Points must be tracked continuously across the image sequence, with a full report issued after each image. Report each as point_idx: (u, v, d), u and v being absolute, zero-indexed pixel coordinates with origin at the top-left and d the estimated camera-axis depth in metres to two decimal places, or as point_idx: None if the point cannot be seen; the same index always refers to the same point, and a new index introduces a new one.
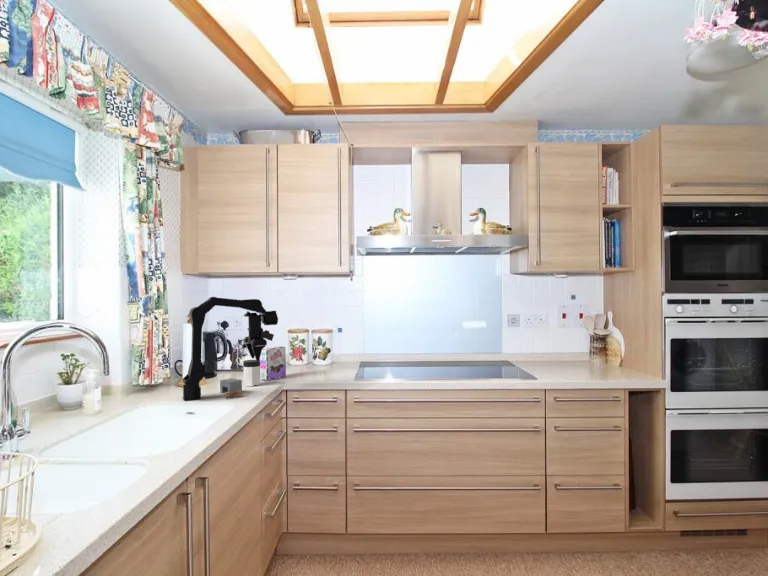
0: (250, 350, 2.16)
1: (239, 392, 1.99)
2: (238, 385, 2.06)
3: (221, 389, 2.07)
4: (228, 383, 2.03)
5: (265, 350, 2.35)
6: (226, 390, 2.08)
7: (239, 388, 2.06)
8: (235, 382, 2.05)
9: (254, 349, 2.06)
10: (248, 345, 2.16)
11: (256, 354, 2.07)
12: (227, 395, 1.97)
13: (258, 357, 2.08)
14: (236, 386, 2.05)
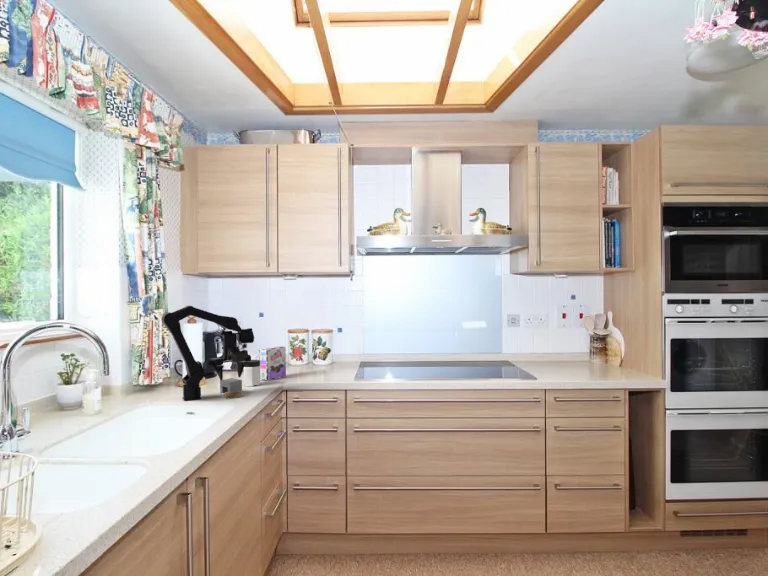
0: (238, 369, 2.12)
1: (239, 392, 1.99)
2: (238, 385, 2.06)
3: (221, 389, 2.07)
4: (228, 383, 2.03)
5: (265, 350, 2.35)
6: (226, 390, 2.08)
7: (239, 388, 2.06)
8: (235, 382, 2.05)
9: (215, 368, 2.04)
10: (237, 363, 2.13)
11: (218, 373, 2.04)
12: (227, 395, 1.97)
13: (220, 377, 2.03)
14: (236, 386, 2.05)
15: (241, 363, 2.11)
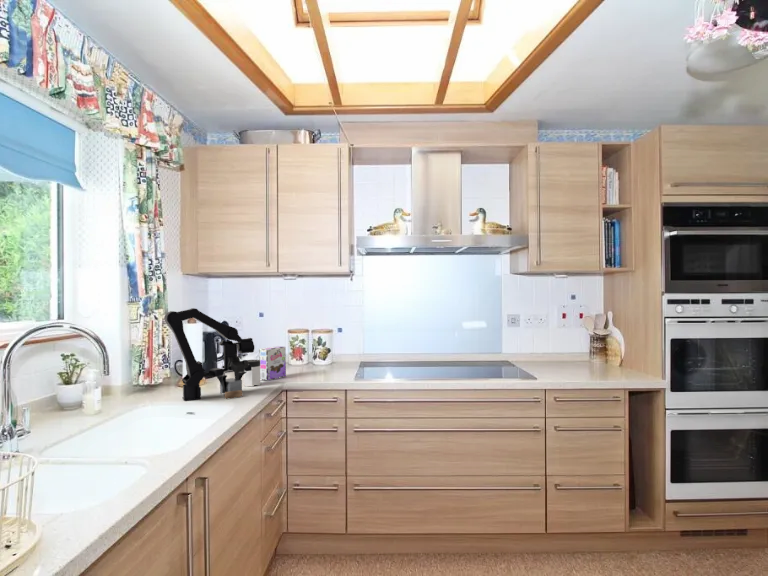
0: None
1: (239, 392, 1.99)
2: (238, 385, 2.06)
3: (221, 389, 2.07)
4: (228, 383, 2.03)
5: (265, 350, 2.35)
6: (226, 390, 2.08)
7: (239, 388, 2.06)
8: (235, 382, 2.05)
9: (218, 378, 2.05)
10: (235, 373, 2.11)
11: (221, 383, 2.05)
12: (227, 395, 1.97)
13: (223, 387, 2.04)
14: (236, 386, 2.05)
15: (239, 373, 2.10)
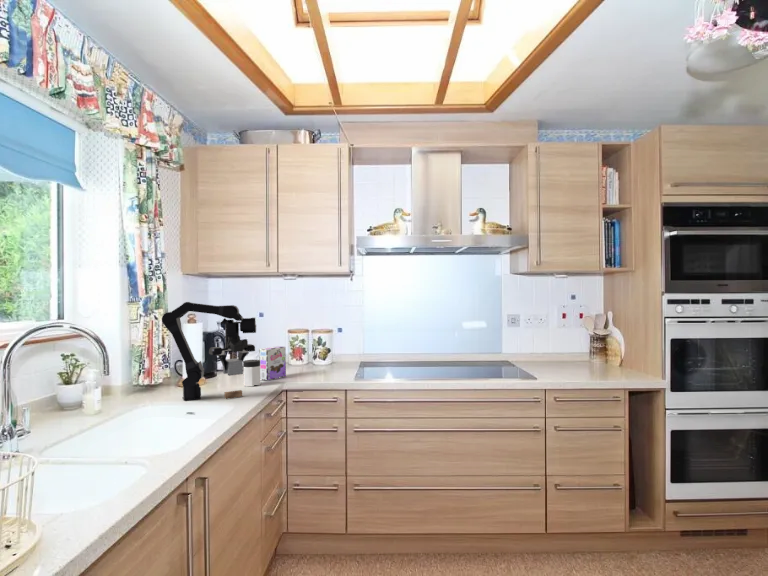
0: None
1: (239, 392, 1.99)
2: (238, 365, 1.99)
3: (223, 369, 2.02)
4: (227, 363, 1.97)
5: (265, 350, 2.35)
6: None
7: (239, 368, 1.99)
8: (235, 362, 1.98)
9: (219, 357, 2.00)
10: (239, 353, 2.05)
11: (222, 363, 2.00)
12: (227, 395, 1.97)
13: (224, 366, 1.99)
14: (236, 366, 1.98)
15: (241, 354, 2.03)
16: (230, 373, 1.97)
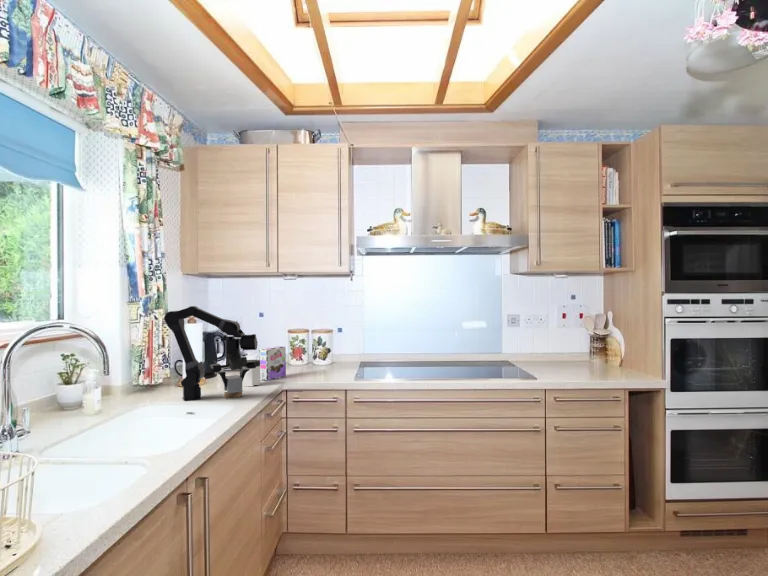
0: (240, 376, 2.02)
1: (239, 392, 1.99)
2: (238, 383, 1.96)
3: None
4: (227, 380, 1.95)
5: (265, 350, 2.35)
6: None
7: (239, 386, 1.97)
8: (234, 379, 1.96)
9: (220, 374, 1.98)
10: (240, 370, 2.03)
11: (222, 380, 1.98)
12: (227, 395, 1.97)
13: (224, 383, 1.97)
14: (235, 384, 1.96)
15: (241, 371, 2.00)
16: (229, 391, 1.95)
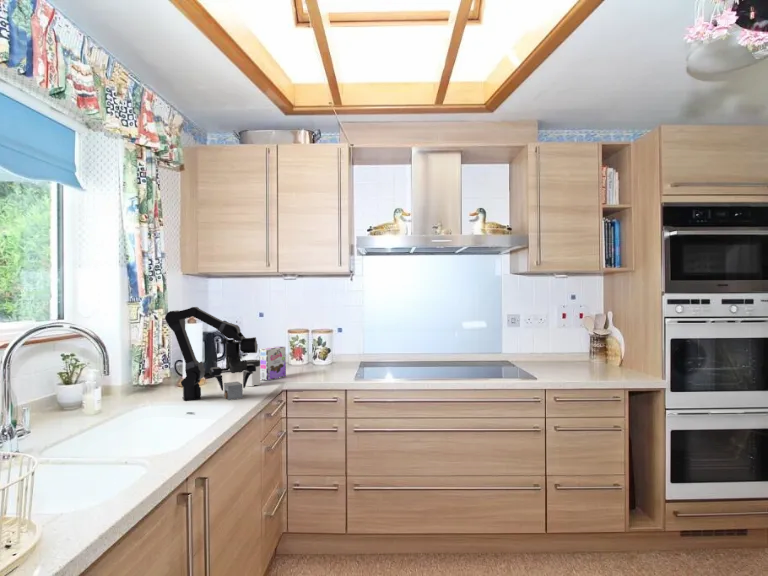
0: (243, 379, 2.03)
1: None
2: (238, 389, 1.96)
3: (224, 392, 2.00)
4: (227, 387, 1.95)
5: (265, 350, 2.35)
6: None
7: (239, 393, 1.97)
8: (234, 386, 1.96)
9: (216, 377, 1.98)
10: (243, 373, 2.04)
11: (219, 383, 1.97)
12: None
13: None
14: (235, 390, 1.96)
15: (245, 373, 2.01)
16: (229, 397, 1.95)
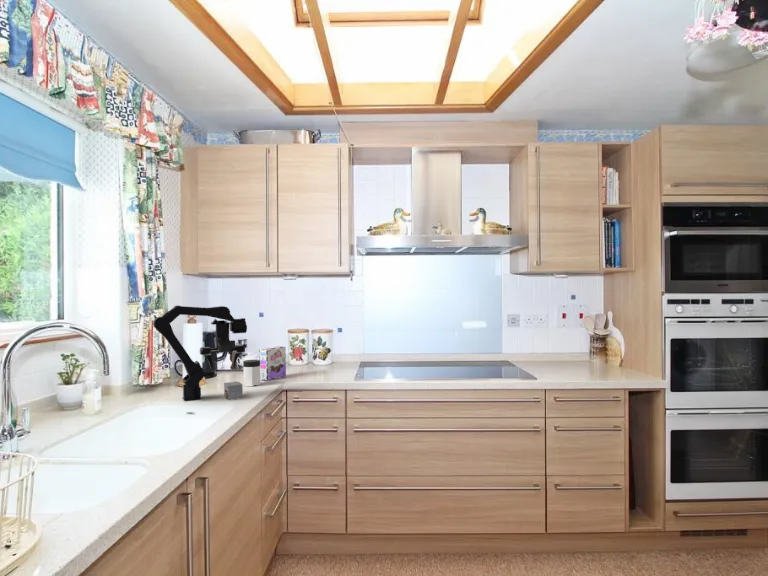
0: (233, 359, 2.08)
1: None
2: (238, 389, 1.96)
3: (224, 392, 2.00)
4: (227, 387, 1.95)
5: (265, 350, 2.35)
6: None
7: (239, 393, 1.97)
8: (234, 386, 1.96)
9: (206, 357, 2.03)
10: (233, 353, 2.09)
11: (209, 363, 2.03)
12: None
13: (210, 366, 2.02)
14: (235, 390, 1.96)
15: (234, 354, 2.06)
16: (229, 397, 1.95)
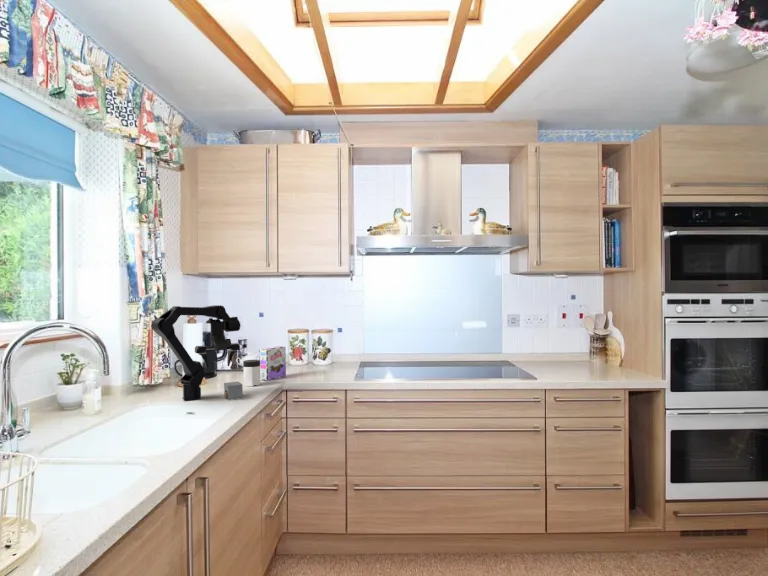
0: (228, 357, 2.11)
1: None
2: (238, 389, 1.96)
3: (224, 392, 2.00)
4: (227, 387, 1.95)
5: (265, 350, 2.35)
6: None
7: (239, 393, 1.97)
8: (234, 386, 1.96)
9: None
10: (228, 352, 2.12)
11: (204, 361, 2.05)
12: None
13: None
14: (235, 390, 1.96)
15: (229, 352, 2.09)
16: (229, 397, 1.95)
